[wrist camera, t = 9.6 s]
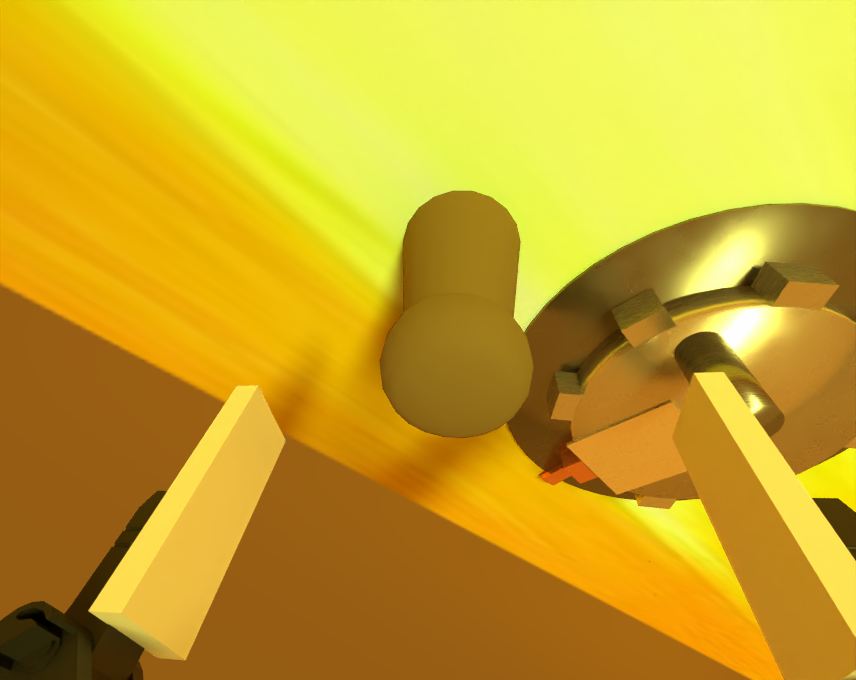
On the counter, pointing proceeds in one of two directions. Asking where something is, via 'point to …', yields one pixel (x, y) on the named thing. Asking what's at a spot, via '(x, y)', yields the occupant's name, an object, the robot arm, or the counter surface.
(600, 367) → the sprocket
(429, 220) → the pepper mill
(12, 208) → the counter surface
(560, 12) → the counter surface
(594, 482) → the plate
